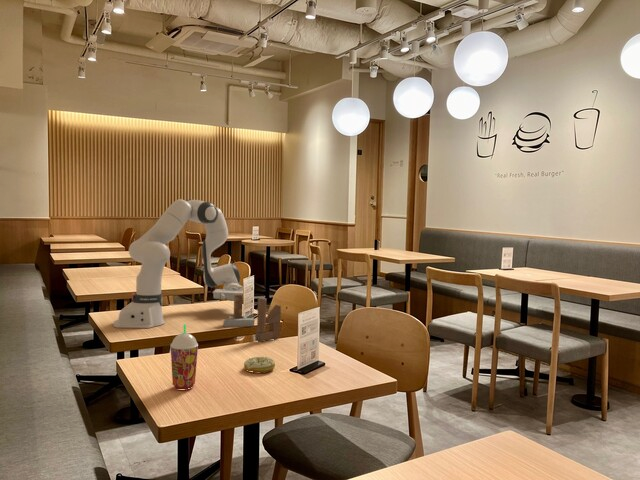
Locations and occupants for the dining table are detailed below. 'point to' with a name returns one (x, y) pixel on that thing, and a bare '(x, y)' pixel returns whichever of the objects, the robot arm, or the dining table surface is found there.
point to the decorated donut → (259, 364)
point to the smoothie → (184, 360)
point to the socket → (238, 322)
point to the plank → (238, 306)
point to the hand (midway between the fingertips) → (234, 298)
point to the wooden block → (267, 322)
